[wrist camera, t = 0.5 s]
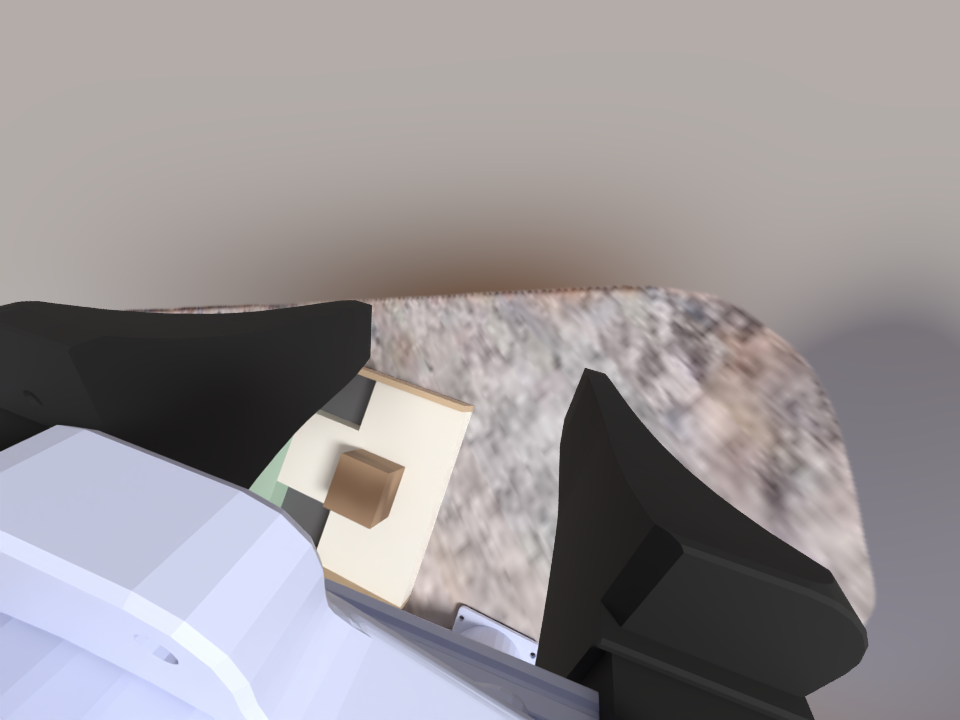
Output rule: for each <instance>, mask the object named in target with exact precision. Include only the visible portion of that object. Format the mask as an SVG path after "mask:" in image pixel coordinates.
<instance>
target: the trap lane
mask: <svg viewBox="0 0 960 720" xmlns="http://www.w3.org/2000/svg"><path fill="white" fill-rule="evenodd" d="M473 408H474V406H472V405H469V404H467V403H464V402H461V401H458V400H455V399H453V398H450V397H447V396H444V395H442V394H439V393H436V392H433V391H430V390H428V389H425V388H422V387H419V386H416V385H414V384H411V383H408V382H405V381H402V380H400V379H397V378H394V377H391V376H388V375H386V374H383V373H380V372H377V371H375V370H372V369H369V368H366V367H363V368H362V369H361V370H360V371H359V373H358V374H357V375H356V376H355V377H354V378H353V379H352V380H351V381H350V382H349V383H348V384H347V385H346V386H345V387H344V388H343V389H342V390H341V391H340V392H339V393H337V394H336V395H335V396H334V397H333V398H332V399H331V400H330V401H329V402H327V403H326V404H325V405H324V406H323V407H322V408H321V409H320V410H319V411H318V412H316V413H315V414H314V415H313V416H312V417H311V418H310V419H309V420H308V421H307V422H306V423H305V424H304V425H303V426H302V427H301V428H300V429H299V430H298V431H297V432H296V433H295V434H294V435H293V436H292V438H291V439H290V440H289V441H288V442H287V443H286V444H285V446H284V447H283V448H282V449H281V450H280V451H279V452H278V454H277V455H276V456H275V457H274V459H273V460H272V461H271V462H270V463H269V465H268V466H267V467H266V468H265V469H264V471H263V472H262V473H261V474H260V476H259V477H258V478H257V479H256V481H255V482H254V483H253V485H252V486H251V487H250V489H249V490H250V491H252V492H254V493H255V494H257V495H259V496H261V497H262V498H264V499H266V500H268V501H269V502H271V503H273V504H275V505H276V506H278V507H280V508H282V509H283V510H285V511H286V512H287V513H288V514H289V515H290V516H291V517H292V518H293V519H294V520H295V521H296V522H297V523H298V524H299V525H300V526H301V527H302V528H303V529H304V530H305V531H306V532H307V533H308V534H309V535H310V536H311V538H312V540H313V543H314V545H315V547H316V550H317V552H318V554H319V556H320V559H321V561H322V566H323V572H324V577H325V578H327V579H330V580H332V581H334V582H337V583H339V584H342V585H344V586H346V587H349V588H351V589H354V590H356V591H358V592H361V593H363V594H366V595H368V596H370V597H373V598H375V599H377V600H380V601H382V602H385V603H387V604H389V605H392V606H394V607H397V608H399V609H401V610H402V608H403V607H404V606H405V604H406V603H407V602H408V600H409V598H410V595H411V592H412V589H413V586H414V583H415V580H416V577H417V574H418V571H419V568H420V566H421V563H422V560H423V557H424V554H425V551H426V548H427V545H428V542H429V539H430V536H431V533H432V530H433V527H434V524H435V521H436V518H437V515H438V512H439V509H440V506H441V503H442V500H443V497H444V494H445V491H446V488H447V485H448V482H449V479H450V476H451V473H452V471H453V468H454V465H455V462H456V459H457V456H458V453H459V450H460V447H461V444H462V441H463V438H464V435H465V432H466V429H467V426H468V423H469V420H470V417H471V414H472V411H473ZM358 449H364V450H367V451H369V452H371V453H374V454H376V455H378V456H381V457H383V458H385V459H388V460H390V461H393V462H395V463H397V464H400V465H402V466H404V467H405V470H404V473H403V476H402V479H401V482H400V485H399V487H398V490H397V493H396V496H395V499H394V502H393V505H392V508H391V511H390V514H389V516H388V517H387V518H386V519H384V520H383V521H381V522H380V523H378V524H377V525H375V526H374V527H372V528H371V529H368V528H366V527H364V526H362V525H360V524H358V523H356V522H354V521H352V520H350V519H348V518H345V517H343V516H341V515H339V514H337V513H335V512H333V511H331V510H329V509H327V508H325V507H323V504H324V501H325V498H326V496H327V493H328V490H329V487H330V484H331V482H332V479H333V476H334V473H335V470H336V468H337V465H338V462H339V459H340V456H341V454H342V453H344V452H349V451H354V450H358Z"/></svg>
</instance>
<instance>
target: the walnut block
mask: <svg viewBox="0 0 960 720" xmlns="http://www.w3.org/2000/svg"><path fill="white" fill-rule="evenodd" d="M404 470H405V467H404V466H402V465H400V464H397V463H395V462H393V461H390V460H388V459H385V458H383V457H381V456H378V455H376V454H374V453H371V452H369V451H367V450H364V449H358V450H354V451H349V452H344V453H342V454H341V456H340V459H339V462H338V465H337V468H336V470H335V473H334V476H333V479H332V482H331V484H330V487H329V490H328V493H327V496H326V498H325V501H324V504H323V507H325V508H327V509H329V510H331V511H333V512H335V513H337V514H339V515H341V516H343V517H345V518H348V519H350V520H352V521H354V522H356V523H358V524H360V525H362V526H364V527H366V528H368V529H371V528H372V527H374V526H375V525H377V524H378V523H380V522H381V521H383V520H384V519H386V518H387V517H388V516H389V514H390V511H391V508H392V505H393V502H394V499H395V496H396V493H397V490H398V487H399V485H400V482H401V479H402V476H403V473H404Z"/></svg>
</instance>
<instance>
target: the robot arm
mask: <svg viewBox="0 0 960 720" xmlns="http://www.w3.org/2000/svg"><path fill="white" fill-rule="evenodd" d="M371 317H372V305H370V304H366V303H363V302H359V301H356V300H345V301H335V302H327V303H320V304H313V305H306V306H299V307H291V308H283V309H274V310H266V311H256V312H244V313H224V314H167V313H147V312H132V311H118V310H107V309H97V308H89V307H80V306H71V305H63V304H55V303H47V302H40V301H25V302H15V303H11V304H7V305H3V306H0V720H814V717H813V715H812V712H811V710H810V708H809V705H808V703H807V700H806V698H805V696H807V695H808V694H810V693H812V692H814V691H816V690H818V689H819V688H821V687H823V686H825V685H827V684H828V683H830V682H832V681H834V680H836V679H838V678H839V677H841V676H843V675H845V674H846V673H848V672H849V671H850V670H851V669H852V668H854V667H855V666H857V665H858V664H859V663H860V661H861V660H862V657H863V656H864V654H865V651H866V649H867V647H868V639H867V632H866V629H865V627H864V626H863V624H862V623H861V621H860V619H859V618H858V616H857V614H856V613H855V611H854V609H853V608H852V606H851V604H850V603H849V601H848V599H847V598H846V596H845V595H844V593H843V591H842V590H841V588H840V586H839V585H838V583H837V581H836V580H835V578H834V576H833V575H832V573H831V572H830V571H829V570H828V569H826V568H825V567H823V566H822V565H820V564H818V563H817V562H815V561H814V560H812V559H811V558H809V557H807V556H806V555H804V554H803V553H801V552H800V551H798V550H796V549H795V548H793V547H792V546H790V545H789V544H787V543H785V542H784V541H782V540H781V539H779V538H778V537H776V536H774V535H773V534H771V533H770V532H768V531H767V530H765V529H764V528H762V527H761V526H760V525H758V524H757V523H755V522H754V521H753V520H751V519H750V518H748V517H747V516H746V515H744V514H743V513H741V512H740V511H739V510H737V509H736V508H734V507H733V506H732V505H730V504H729V503H728V502H727V501H725V500H724V499H723V498H721V497H720V496H719V495H717V494H716V493H715V492H714V491H712V490H711V489H710V488H709V487H708V486H706V485H705V484H704V483H703V482H702V481H700V480H699V479H698V478H697V477H696V476H694V475H693V474H692V473H691V472H690V471H689V470H688V469H686V468H685V467H684V466H683V465H682V464H681V463H680V462H679V461H678V460H677V459H676V458H675V457H674V456H673V455H672V454H671V453H670V452H669V451H668V450H667V449H665V448H664V447H663V446H662V444H661V443H660V442H659V441H658V440H657V439H656V438H655V437H654V436H653V435H652V434H651V432H650V431H649V430H648V429H647V428H646V427H645V425H644V424H643V423H642V422H641V421H640V419H639V418H638V417H637V416H636V415H635V413H634V412H633V411H632V409H631V408H630V407H629V405H628V404H627V403H626V401H625V400H624V399H623V397H622V396H621V394H620V393H619V392H618V390H617V389H616V387H615V386H614V385H613V383H612V382H611V381H610V379H609V378H608V377H607V375H606V374H604V373H601V372H597V371H594V370H591V369H587V368H585V370H584V372H583V374H582V377H581V379H580V382H579V384H578V387H577V389H576V392H575V394H574V397H573V399H572V402H571V404H570V407H569V409H568V412H567V414H566V417H565V419H564V425H563V431H562V437H561V443H560V463H559V504H558V520H557V529H556V536H555V543H554V551H553V558H552V564H551V571H550V578H549V585H548V591H547V597H546V603H545V609H544V616H543V622H542V628H541V634H540V639H539V644H538V643H537V642H536V641H534V640H532V639H530V638H528V637H526V636H524V635H522V634H520V633H518V632H516V631H514V630H512V629H510V628H508V627H506V626H504V625H502V624H500V623H498V622H496V621H494V620H492V619H490V618H488V617H486V616H484V615H482V614H480V613H478V612H477V611H475V610H473V609H471V608H469V607H467V606H461V607H460V608H459V610H458V613H457V616H456V619H455V623H454V626H453V629H452V631H451V630H449V629H447V628H444V627H442V626H440V625H437V624H435V623H432V622H430V621H428V620H425V619H423V618H420V617H418V616H416V615H413V614H411V613H408V612H406V611H404V610H401V609H399V608H397V607H394V606H392V605H389V604H387V603H385V602H382V601H380V600H377V599H375V598H373V597H370V596H368V595H366V594H363V593H361V592H358V591H356V590H354V589H351V588H349V587H346V586H344V585H342V584H339V583H337V582H334V581H332V580H330V579H327V578H325V577H324V572H323V566H322V561H321V559H320V556H319V554H318V552H317V550H316V547H315V545H314V543H313V540H312V538H311V536H310V535H309V534H308V533H307V532H306V531H305V530H304V529H303V528H302V527H301V526H300V525H299V524H298V523H297V522H296V521H295V520H294V519H293V518H292V517H291V516H290V515H289V514H288V513H287V512H286V511H285V510H283V509H282V508H280V507H278V506H276V505H275V504H273V503H271V502H269V501H268V500H266V499H264V498H262V497H261V496H259V495H257V494H255V493H254V492H252V491H250V490H249V489H250V487H251V486H252V485H253V483H254V482H255V481H256V479H257V478H258V477H259V476H260V474H261V473H262V472H263V471H264V469H265V468H266V467H267V466H268V465H269V463H270V462H271V461H272V460H273V459H274V457H275V456H276V455H277V454H278V452H279V451H280V450H281V449H282V448H283V447H284V446H285V444H286V443H287V442H288V441H289V440H290V439H291V438H292V436H293V435H294V434H295V433H296V432H297V431H298V430H299V429H300V428H301V427H302V426H303V425H304V424H305V423H306V422H307V421H308V420H309V419H310V418H311V417H312V416H313V415H314V414H315V413H316V412H318V411H319V410H320V409H321V408H322V407H323V406H324V405H325V404H326V403H327V402H329V401H330V400H331V399H332V398H333V397H334V396H335V395H336V394H337V393H339V392H340V391H341V390H342V389H343V388H344V387H345V386H346V385H347V384H348V383H349V382H350V381H351V380H352V379H353V378H354V377H355V376H356V375H357V374H358V373H359V371H360V370H361V369H362V368H363V366H364V365H365V364H366V362H367V361H368V360H369V358H370V349H371ZM460 616H463V617H464V619H461V618H460ZM531 652H533V653H535V655H534V656H532V655H531V654H530V653H531Z"/></svg>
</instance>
